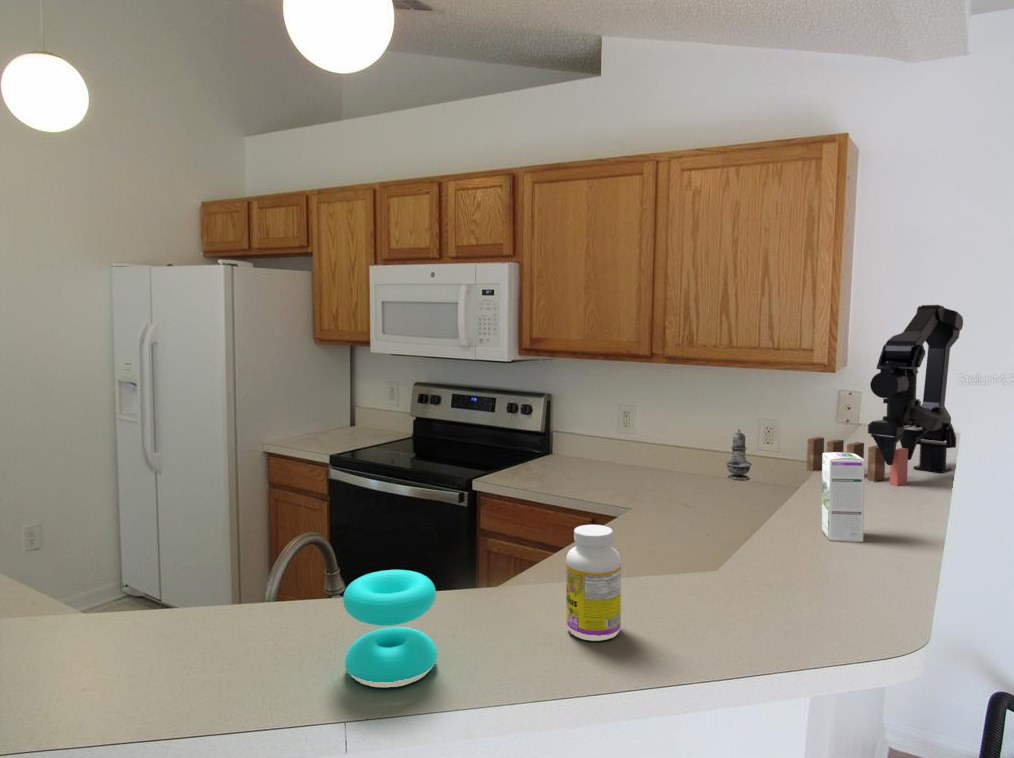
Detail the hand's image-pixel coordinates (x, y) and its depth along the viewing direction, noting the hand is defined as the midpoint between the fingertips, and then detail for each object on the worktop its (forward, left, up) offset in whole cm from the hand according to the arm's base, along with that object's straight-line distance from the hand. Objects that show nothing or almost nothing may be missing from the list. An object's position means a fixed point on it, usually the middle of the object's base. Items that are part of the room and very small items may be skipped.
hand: (899, 462), depth 159 cm
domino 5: (0, 0, -5) cm, 5 cm away
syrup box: (+48, +12, -5) cm, 50 cm away
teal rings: (+132, +5, -5) cm, 132 cm away
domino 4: (0, -5, -5) cm, 7 cm away
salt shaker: (+23, -26, -5) cm, 36 cm away
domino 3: (0, -10, -5) cm, 11 cm away
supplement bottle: (+108, +12, -5) cm, 109 cm away
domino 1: (0, -20, -5) cm, 21 cm away
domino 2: (0, -15, -5) cm, 16 cm away
